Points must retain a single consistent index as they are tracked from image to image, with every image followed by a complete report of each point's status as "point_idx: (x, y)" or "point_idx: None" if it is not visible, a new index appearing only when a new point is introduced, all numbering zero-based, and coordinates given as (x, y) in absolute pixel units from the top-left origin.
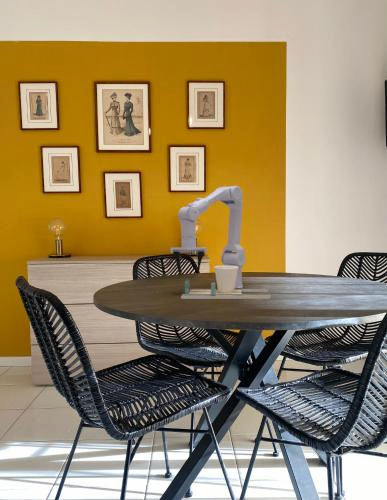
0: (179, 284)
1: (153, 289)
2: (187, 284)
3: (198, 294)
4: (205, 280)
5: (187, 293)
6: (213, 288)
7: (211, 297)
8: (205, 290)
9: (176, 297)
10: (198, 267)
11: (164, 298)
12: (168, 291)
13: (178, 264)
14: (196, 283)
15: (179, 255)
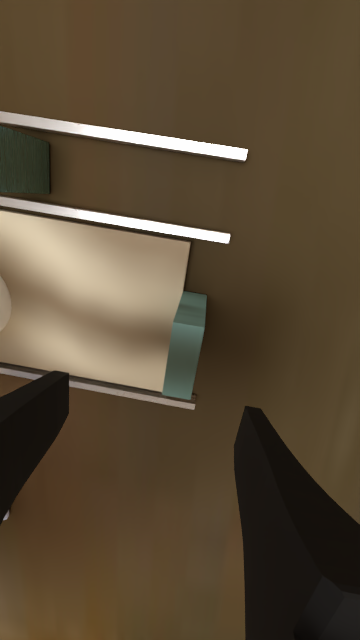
0: (206, 577)
1: (351, 498)
2: (185, 313)
3: (124, 216)
4: (95, 621)
5: (191, 294)
6: None
7: (40, 118)
8: (84, 359)
9: (267, 228)
10: (41, 381)
11: (354, 201)
12: (283, 431)
13: (277, 449)
14: (131, 579)
15: (281, 609)
